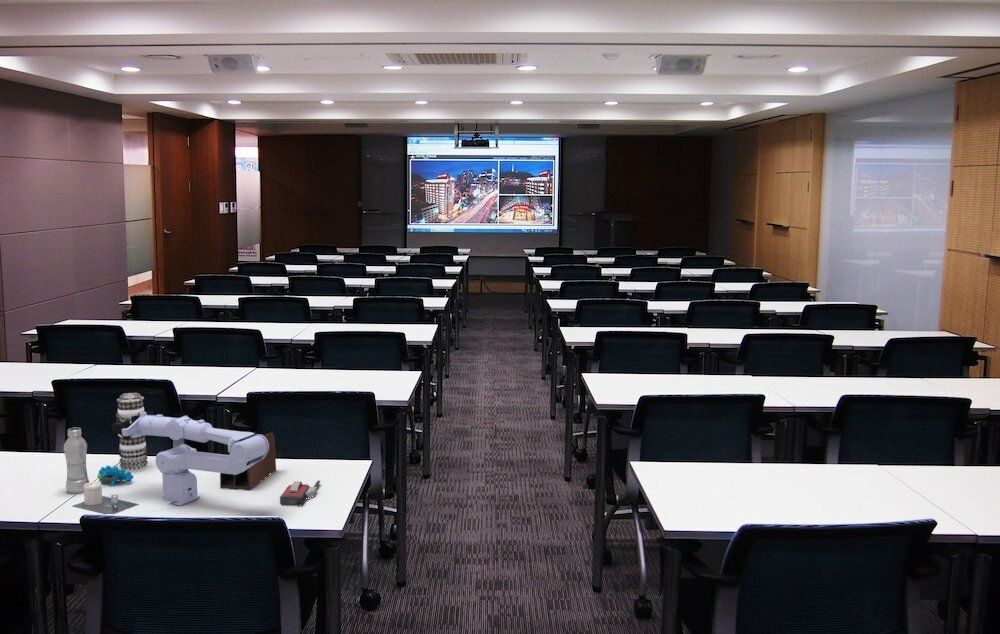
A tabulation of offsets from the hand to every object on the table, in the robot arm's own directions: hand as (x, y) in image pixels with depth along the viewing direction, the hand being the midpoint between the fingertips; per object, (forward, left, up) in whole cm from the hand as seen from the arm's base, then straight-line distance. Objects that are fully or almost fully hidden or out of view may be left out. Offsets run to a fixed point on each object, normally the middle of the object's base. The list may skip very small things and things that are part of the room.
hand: (122, 423), depth 266 cm
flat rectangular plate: (-8, +14, -21) cm, 26 cm away
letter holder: (-26, -25, -21) cm, 42 cm away
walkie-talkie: (-50, -21, -22) cm, 58 cm away
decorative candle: (+15, -16, -21) cm, 31 cm away
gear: (+6, -1, -21) cm, 22 cm away
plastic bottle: (+10, +9, -21) cm, 25 cm away
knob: (-3, +14, -20) cm, 24 cm away
